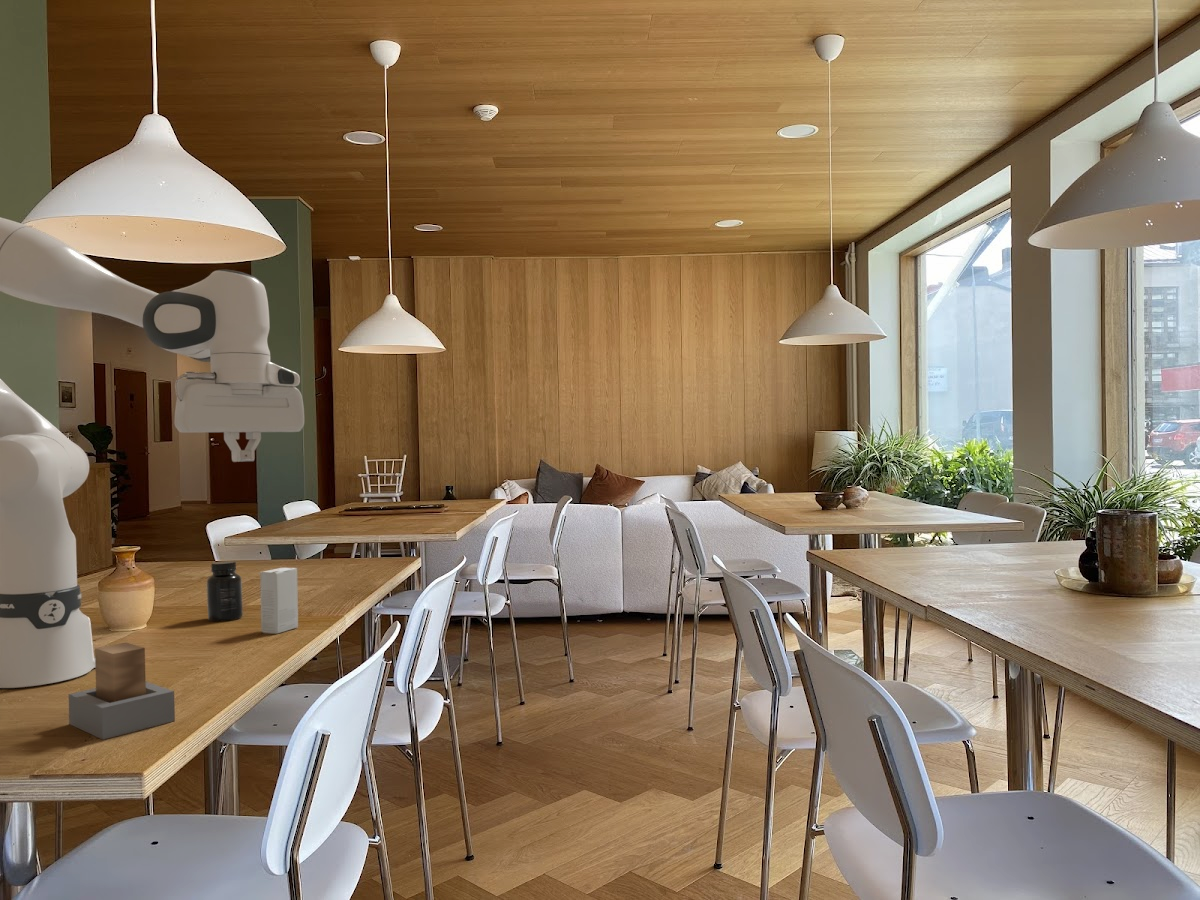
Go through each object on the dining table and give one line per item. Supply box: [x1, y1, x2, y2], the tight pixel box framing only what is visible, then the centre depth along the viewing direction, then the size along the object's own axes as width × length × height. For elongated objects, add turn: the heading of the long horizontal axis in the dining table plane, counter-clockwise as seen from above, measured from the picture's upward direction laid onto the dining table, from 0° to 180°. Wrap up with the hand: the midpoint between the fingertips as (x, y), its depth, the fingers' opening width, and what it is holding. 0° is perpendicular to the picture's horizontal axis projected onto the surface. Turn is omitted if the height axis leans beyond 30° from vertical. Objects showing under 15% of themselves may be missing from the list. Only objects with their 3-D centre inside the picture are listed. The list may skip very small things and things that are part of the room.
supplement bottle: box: [206, 560, 244, 622], centre depth 187 cm, size 7×7×12 cm
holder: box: [68, 681, 176, 741], centre depth 117 cm, size 10×9×4 cm
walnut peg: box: [94, 642, 147, 703], centre depth 117 cm, size 4×6×10 cm
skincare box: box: [259, 567, 299, 635], centre depth 174 cm, size 6×4×12 cm
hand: (243, 461), depth 140 cm, fingers closed
